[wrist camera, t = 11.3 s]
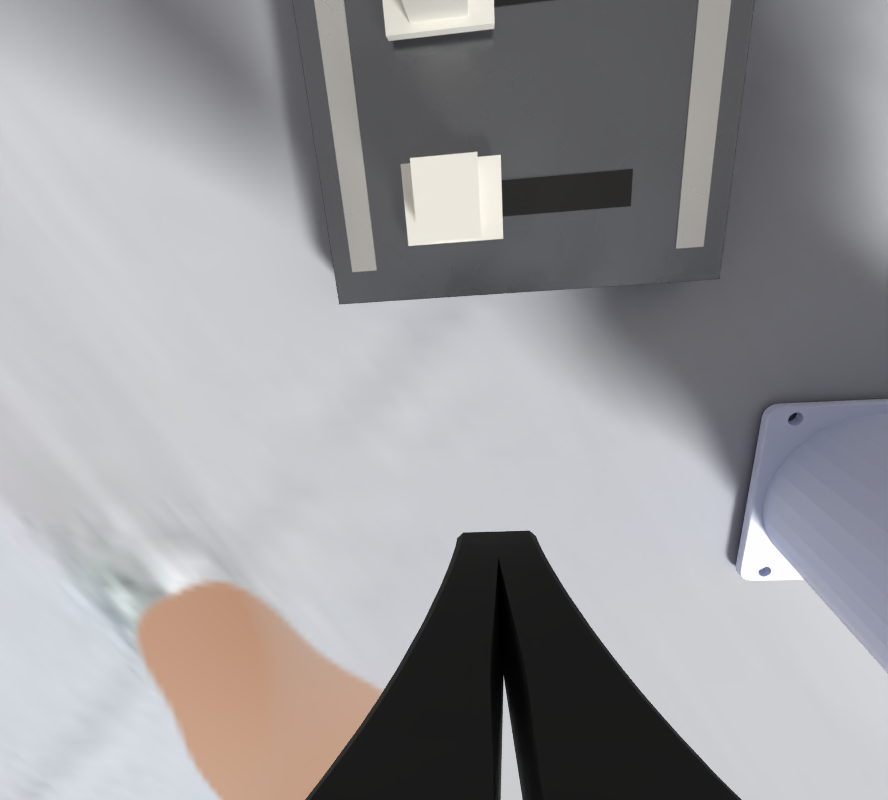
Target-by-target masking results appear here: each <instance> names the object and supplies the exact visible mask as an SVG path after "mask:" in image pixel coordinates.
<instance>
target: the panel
mask: <svg viewBox="0 0 888 800" xmlns="http://www.w3.org/2000/svg"><path fill="white" fill-rule="evenodd" d="M293 6H294V13H295V19H296V26H297V32H298V39H299V45H300V52H301V58H302V65H303V71H304V78H305V84H306V91H307V97H308V104H309V110H310V117H311V123H312V130H313V136H314V143H315V149H316V156H317V162H318V169H319V175H320V182H321V188H322V195H323V202H324V208H325V215H326V221H327V228H328V234H329V241H330V247H331V254H332V260H333V267H334V273H335V280H336V286H337V293H338V299H339V304H352V303H367V302H382V301H397V300H412V299H427V298H442V297H457V296H472V295H487V294H502V293H517V292H532V291H547V290H562V289H577V288H592V287H607V286H622V285H637V284H652V283H667V282H682V281H697V280H712V279H719V278H720V270H721V262H722V254H723V246H724V238H725V230H726V222H727V214H728V206H729V198H730V191H731V183H732V175H733V167H734V159H735V151H736V143H737V135H738V127H739V119H740V111H741V103H742V95H743V87H744V80H745V72H746V64H747V56H748V48H749V40H750V32H751V24H752V16H753V8H754V0H494V19H495V25H494V29H489V30H480V31H471V32H463V33H454V34H446V35H437V36H428V37H420V38H411V39H402V40H394V41H388V39H387V37H386V32H385V22H384V12H383V1H382V0H293ZM469 152H477V157H482V156H493V155H501V182H502V214H503V239H493V240H480V241H467V242H454V243H441V244H428V245H415V246H408V236H407V226H406V215H405V205H404V195H403V185H402V175H401V164H407V163H410V158H416V157H427V156H437V155H448V154H459V153H469Z"/></svg>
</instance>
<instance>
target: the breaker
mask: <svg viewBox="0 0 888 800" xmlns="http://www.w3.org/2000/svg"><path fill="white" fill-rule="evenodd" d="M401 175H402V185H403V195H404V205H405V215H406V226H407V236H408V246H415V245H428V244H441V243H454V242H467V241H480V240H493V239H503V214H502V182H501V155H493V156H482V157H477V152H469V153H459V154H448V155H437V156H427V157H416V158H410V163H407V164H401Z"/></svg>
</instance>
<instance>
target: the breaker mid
mask: <svg viewBox="0 0 888 800" xmlns="http://www.w3.org/2000/svg"><path fill="white" fill-rule="evenodd" d="M382 1H383V12H384V22H385V32H386V37H387V39H388V41H394V40H402V39H411V38H420V37H428V36H437V35H446V34H454V33H463V32H471V31H480V30H489V29H494V25H495V19H494V0H382Z"/></svg>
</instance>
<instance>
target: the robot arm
mask: <svg viewBox="0 0 888 800" xmlns="http://www.w3.org/2000/svg"><path fill="white" fill-rule="evenodd" d="M793 413H797V415H796V417H795V418H794V419H793V420H792V421H788V419H789V417H790V415H792V414H793ZM762 567H765V568H764V569H762V570H759V569H761V568H762ZM736 571H737V572H738V573H739V575H740V576H741V578H743V579H745V580H805V581H806V582H807V584H808V585H809V586H810V587H811V588H812V589H813V590H814V591H815V593H816V594H817V595H818V596H819V597H820V598H821V599H822V600H823V602H824V603H825V604H826V605H827V606H828V607H829V608H830V609H831V610H832V612H833V613H834V614H835V615H836V616H837V617H838V618H839V619H840V621H841V622H842V623H843V624H844V625H845V626H846V627H847V628H848V630H849V631H850V632H851V633H852V634H853V635H854V636H855V637H856V638H857V640H858V641H859V642H860V643H861V644H862V645H863V646H864V647H865V649H866V650H867V651H868V652H869V653H870V654H871V655H872V656H873V658H874V659H875V660H876V661H877V662H878V663H879V664H880V665H881V666H882V668H883V669H884V670H885V671H886V672H887V673H888V399H873V400H850V401H827V402H804V403H781V404H774V405H771V406H770V407H768V408H767V409H766V410H765V411H764V413H763V415H762V419H761V425H760V431H759V436H758V442H757V448H756V454H755V459H754V465H753V471H752V476H751V482H750V488H749V494H748V499H747V505H746V511H745V516H744V522H743V528H742V534H741V539H740V545H739V551H738V556H737V562H736ZM503 674H504V680H505V687H506V694H507V700H508V707H509V713H510V720H511V726H512V733H513V739H514V746H515V752H516V759H517V765H518V772H519V778H520V785H521V791H522V798H523V800H741V799H740V798H739V797H738V796H737V795H736V794H735V793H734V792H733V791H732V790H731V789H730V788H729V787H728V786H727V785H726V784H725V783H724V782H723V781H722V780H721V779H720V778H719V777H718V776H717V775H716V774H715V773H714V772H713V771H712V770H711V769H710V768H709V767H708V765H707V764H706V763H705V762H704V761H703V760H702V759H701V758H700V757H699V756H698V755H697V754H696V753H695V752H694V750H693V749H692V748H691V747H690V746H689V745H688V744H687V743H686V742H685V741H684V740H683V739H682V738H681V737H680V736H679V734H678V733H677V732H676V731H675V730H674V729H673V728H672V727H671V725H670V724H669V723H668V722H667V721H666V720H665V719H664V718H663V716H662V715H661V714H660V713H659V712H658V711H657V710H656V708H655V707H654V706H653V705H652V704H651V703H650V702H649V700H648V699H647V698H646V697H645V696H644V695H643V693H642V692H641V691H640V690H639V689H638V687H637V686H636V685H635V684H634V683H633V681H632V680H631V679H630V678H629V676H628V675H627V674H626V673H625V671H624V670H623V669H622V668H621V666H620V665H619V664H618V663H617V661H616V660H615V659H614V657H613V656H612V655H611V653H610V652H609V651H608V650H607V648H606V647H605V646H604V644H603V643H602V642H601V640H600V639H599V638H598V636H597V635H596V634H595V632H594V631H593V630H592V628H591V627H590V625H589V624H588V622H587V621H586V620H585V618H584V617H583V615H582V614H581V612H580V611H579V609H578V608H577V606H576V605H575V604H574V602H573V601H572V599H571V598H570V596H569V595H568V593H567V592H566V590H565V589H564V587H563V585H562V584H561V582H560V581H559V579H558V577H557V576H556V574H555V572H554V571H553V569H552V567H551V566H550V564H549V562H548V560H547V558H546V557H545V555H544V553H543V551H542V549H541V547H540V545H539V543H538V541H537V538H536V536H535V535H534V534H533V533H532V532H530V531H505V532H471V533H462V534H461V535H460V536H459V537H458V538H457V543H456V547H455V550H454V553H453V556H452V559H451V562H450V565H449V567H448V570H447V572H446V575H445V577H444V579H443V582H442V584H441V586H440V589H439V591H438V593H437V595H436V597H435V599H434V601H433V603H432V605H431V607H430V610H429V612H428V614H427V616H426V618H425V620H424V622H423V624H422V626H421V628H420V629H419V631H418V633H417V635H416V636H415V638H414V640H413V642H412V644H411V645H410V647H409V649H408V651H407V653H406V654H405V656H404V658H403V660H402V661H401V663H400V665H399V667H398V668H397V670H396V672H395V673H394V675H393V677H392V678H391V680H390V681H389V683H388V685H387V686H386V688H385V689H384V691H383V693H382V694H381V696H380V697H379V699H378V700H377V702H376V704H375V705H374V706H373V708H372V709H371V711H370V712H369V714H368V715H367V717H366V718H365V720H364V721H363V723H362V724H361V726H360V727H359V728H358V730H357V731H356V733H355V734H354V735H353V737H352V738H351V739H350V741H349V742H348V744H347V745H346V746H345V748H344V749H343V750H342V752H341V753H340V755H339V756H338V757H337V759H336V760H335V761H334V763H333V764H332V765H331V767H330V768H329V770H328V771H327V772H326V774H325V775H324V776H323V778H322V779H321V780H320V781H319V783H318V784H317V785H316V787H315V788H314V789H313V791H312V792H311V793H310V794H309V796H308V797H307V798H306V800H500V799H501V758H502V717H503Z"/></svg>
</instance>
